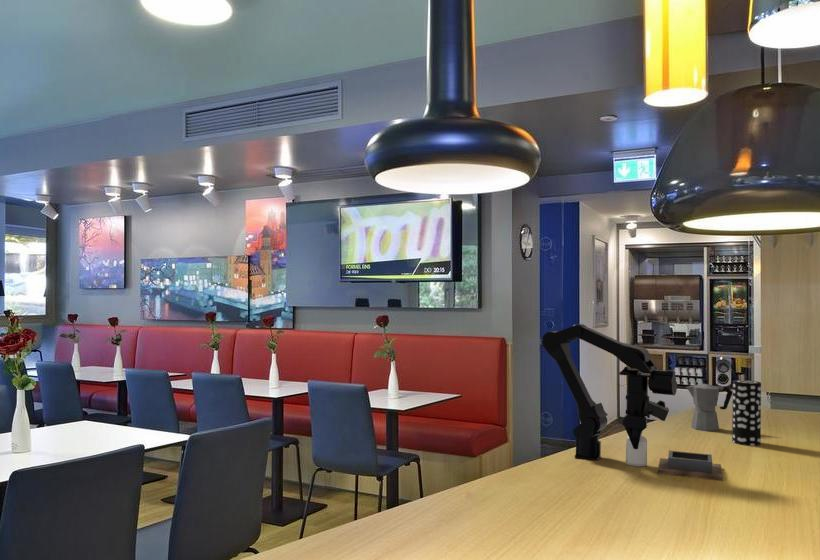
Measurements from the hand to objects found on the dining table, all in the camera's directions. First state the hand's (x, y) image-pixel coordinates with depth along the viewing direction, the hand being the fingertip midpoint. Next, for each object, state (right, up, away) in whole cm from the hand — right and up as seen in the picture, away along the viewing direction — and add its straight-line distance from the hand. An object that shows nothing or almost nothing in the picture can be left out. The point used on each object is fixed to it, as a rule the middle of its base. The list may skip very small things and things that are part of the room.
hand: (636, 447), depth 191 cm
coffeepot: (+44, -7, +52) cm, 68 cm away
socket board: (+13, -5, -5) cm, 15 cm away
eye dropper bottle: (0, -5, 0) cm, 5 cm away
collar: (+13, -5, -5) cm, 15 cm away
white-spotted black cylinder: (+46, -6, +30) cm, 56 cm away
